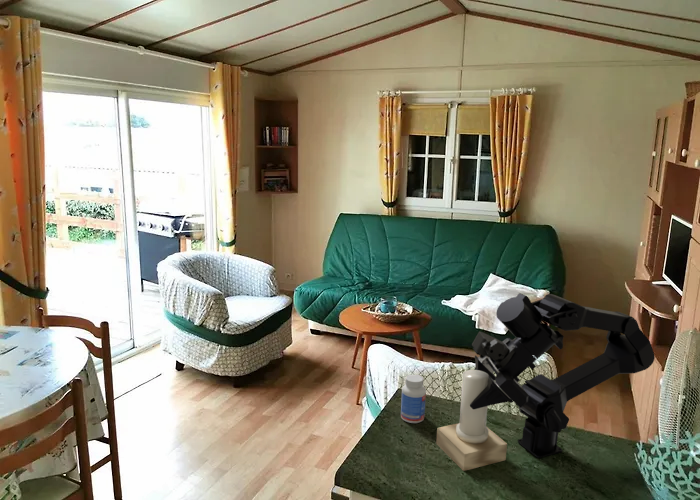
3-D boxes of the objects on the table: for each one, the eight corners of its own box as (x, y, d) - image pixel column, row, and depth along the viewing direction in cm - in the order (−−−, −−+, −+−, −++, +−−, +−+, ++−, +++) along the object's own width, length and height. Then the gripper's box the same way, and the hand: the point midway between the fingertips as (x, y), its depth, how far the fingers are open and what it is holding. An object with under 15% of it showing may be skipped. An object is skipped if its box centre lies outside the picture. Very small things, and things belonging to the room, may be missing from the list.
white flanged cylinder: (475, 423, 114) (479, 366, 111) (494, 439, 108) (499, 379, 105) (449, 429, 112) (453, 371, 109) (467, 446, 106) (472, 385, 103)
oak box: (475, 435, 117) (477, 419, 116) (505, 461, 108) (507, 443, 107) (436, 445, 113) (437, 427, 113) (463, 472, 104) (464, 454, 104)
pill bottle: (425, 424, 121) (427, 384, 119) (401, 423, 121) (403, 383, 119) (423, 411, 126) (425, 373, 124) (399, 411, 126) (401, 372, 124)
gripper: (485, 305, 114) (431, 354, 116) (516, 339, 96) (451, 396, 98) (519, 340, 116) (465, 388, 118) (555, 379, 98) (491, 435, 100)
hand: (467, 400), depth 108 cm, fingers open, 6 cm apart
